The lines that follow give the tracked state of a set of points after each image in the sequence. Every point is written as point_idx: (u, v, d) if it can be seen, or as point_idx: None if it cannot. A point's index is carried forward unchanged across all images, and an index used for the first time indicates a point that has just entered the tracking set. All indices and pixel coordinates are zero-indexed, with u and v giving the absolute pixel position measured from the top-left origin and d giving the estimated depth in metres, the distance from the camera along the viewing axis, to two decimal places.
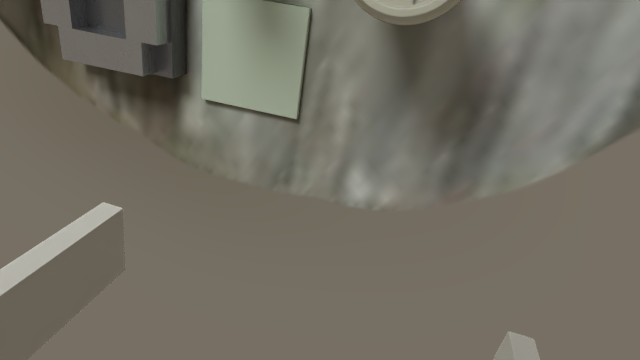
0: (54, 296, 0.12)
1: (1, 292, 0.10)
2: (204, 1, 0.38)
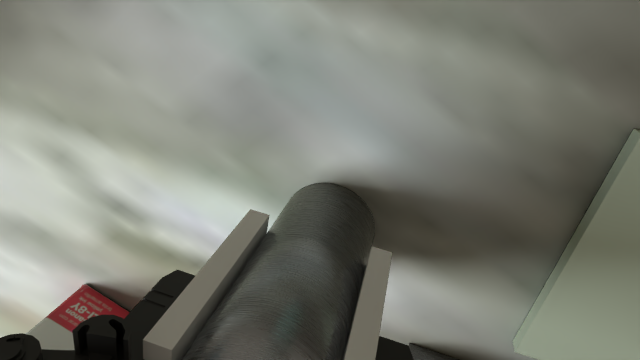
0: None
1: (211, 291, 0.12)
2: (538, 356, 0.17)
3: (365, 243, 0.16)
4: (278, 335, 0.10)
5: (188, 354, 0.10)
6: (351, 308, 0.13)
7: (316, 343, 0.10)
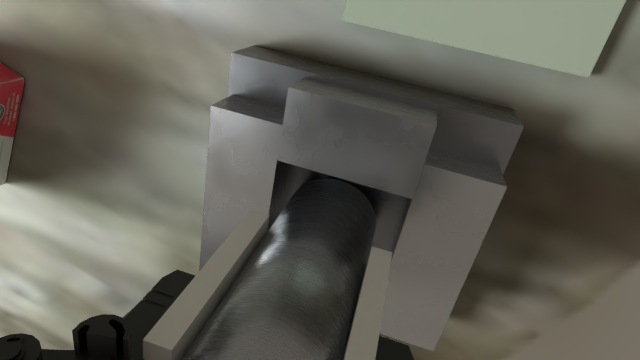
0: None
1: (211, 291, 0.12)
2: (364, 20, 0.17)
3: (367, 236, 0.16)
4: (284, 321, 0.10)
5: (198, 340, 0.10)
6: (354, 298, 0.13)
7: (320, 330, 0.11)
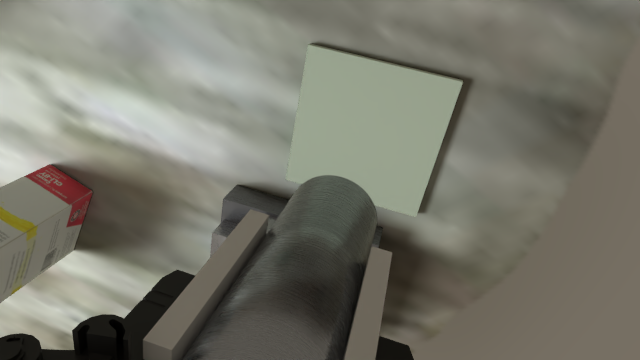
0: None
1: (211, 291, 0.12)
2: (297, 180, 0.31)
3: (368, 231, 0.16)
4: (288, 311, 0.11)
5: (205, 329, 0.11)
6: (356, 291, 0.13)
7: (324, 320, 0.11)
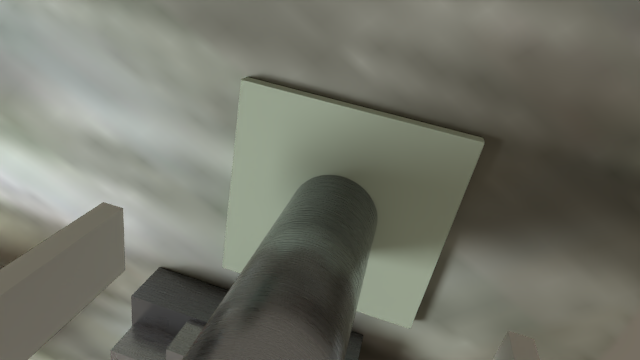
0: (54, 296, 0.12)
1: (1, 292, 0.10)
2: (238, 270, 0.22)
3: (369, 231, 0.16)
4: (290, 309, 0.11)
5: (207, 327, 0.11)
6: (356, 289, 0.14)
7: (325, 318, 0.11)
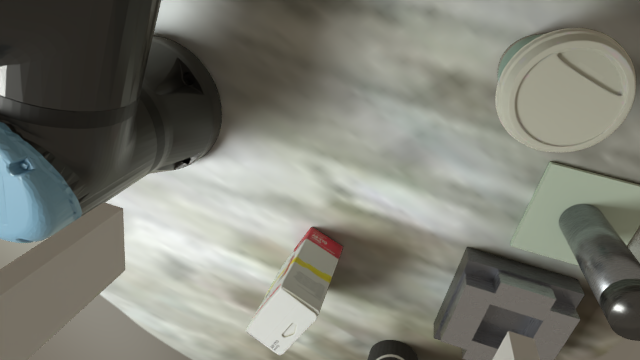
0: (54, 296, 0.12)
1: (1, 292, 0.10)
2: (520, 247, 0.45)
3: None
4: (627, 252, 0.34)
5: (600, 258, 0.34)
6: None
7: (634, 256, 0.34)
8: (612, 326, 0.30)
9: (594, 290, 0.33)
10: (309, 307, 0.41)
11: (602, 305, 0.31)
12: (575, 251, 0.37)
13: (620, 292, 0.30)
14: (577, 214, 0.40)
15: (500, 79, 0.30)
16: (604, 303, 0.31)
